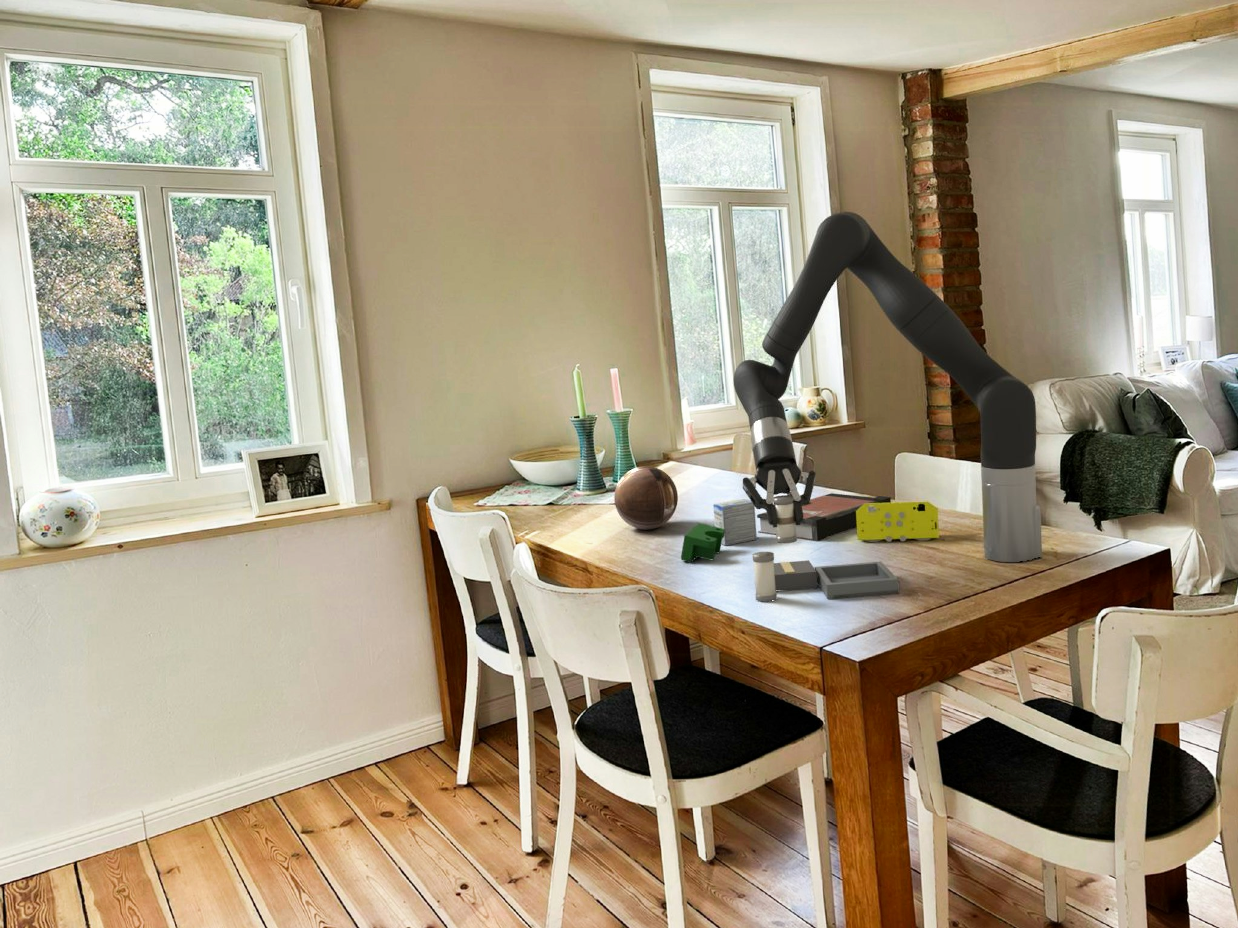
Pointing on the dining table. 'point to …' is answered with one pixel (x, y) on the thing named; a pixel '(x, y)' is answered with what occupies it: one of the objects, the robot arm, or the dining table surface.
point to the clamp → (702, 542)
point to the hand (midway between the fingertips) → (786, 523)
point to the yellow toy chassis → (897, 521)
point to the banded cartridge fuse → (785, 519)
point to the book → (826, 516)
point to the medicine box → (736, 521)
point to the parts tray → (856, 580)
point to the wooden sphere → (646, 497)
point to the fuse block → (795, 575)
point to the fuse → (764, 576)
